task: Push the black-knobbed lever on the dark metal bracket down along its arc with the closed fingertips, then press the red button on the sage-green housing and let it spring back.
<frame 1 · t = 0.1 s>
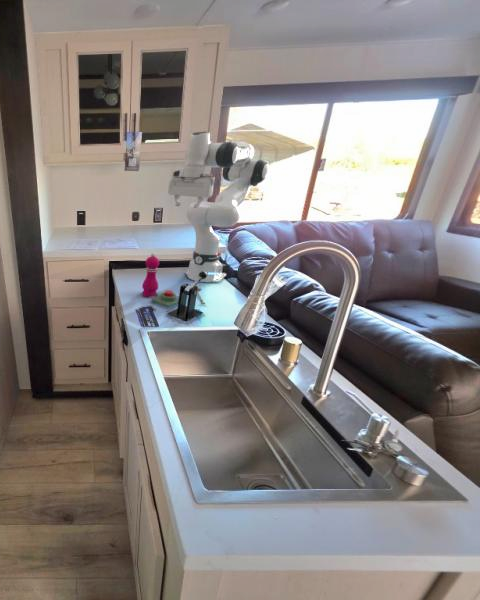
hand: (186, 207, 139), 39 cm above the counter, tool pointing down, fingers open, 8 cm apart
soupspoon: (196, 296, 146), on the counter
pepper mill: (149, 295, 147), on the counter
bracket: (184, 315, 127), on the counter
lever: (195, 282, 125), point 13 cm above the counter, hinge at 25.0°
button box: (167, 303, 139), on the counter
button: (168, 293, 137), point 4 cm above the counter, slide at 0.1 cm
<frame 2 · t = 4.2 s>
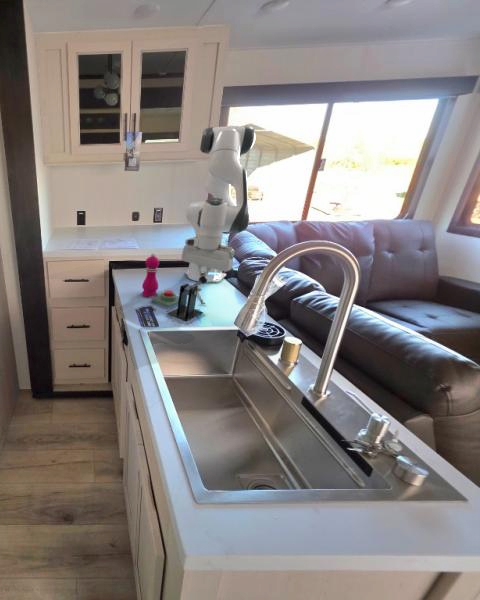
hand: (203, 276, 127), 15 cm above the counter, tool pointing down, fingers closed, pressing on lever
lever: (196, 285, 125), point 12 cm above the counter, hinge at 11.6°, touching gripper
everything else where it was.
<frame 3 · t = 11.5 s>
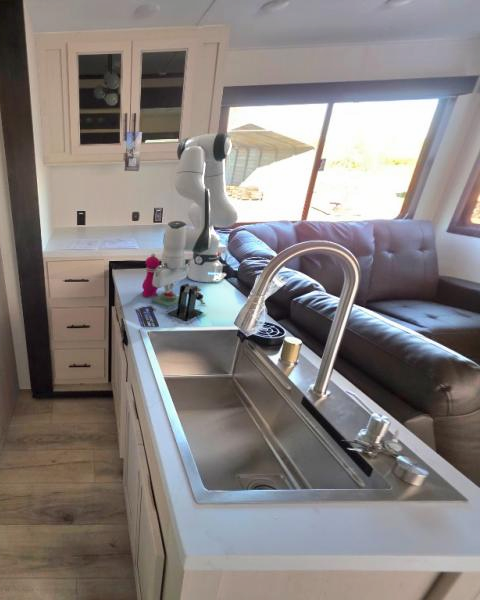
hand: (168, 292, 137), 5 cm above the counter, tool pointing down, fingers closed, pressing on button
lever: (194, 293, 127), point 9 cm above the counter, hinge at -29.3°
button: (168, 294, 137), point 4 cm above the counter, slide at -0.1 cm, touching gripper
everything else where it was.
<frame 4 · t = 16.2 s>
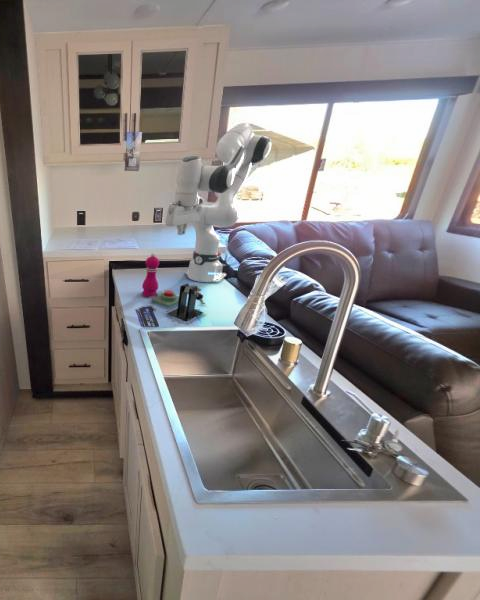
hand: (181, 234, 132), 29 cm above the counter, tool pointing down, fingers closed
button: (168, 293, 137), point 4 cm above the counter, slide at 0.1 cm
everything else where it was.
at the end: lever at -29° (first picture: +25°); button pushed in 1.1 cm at the most during the clip, back to where it started at the end; button slide at 0.1 cm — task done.
